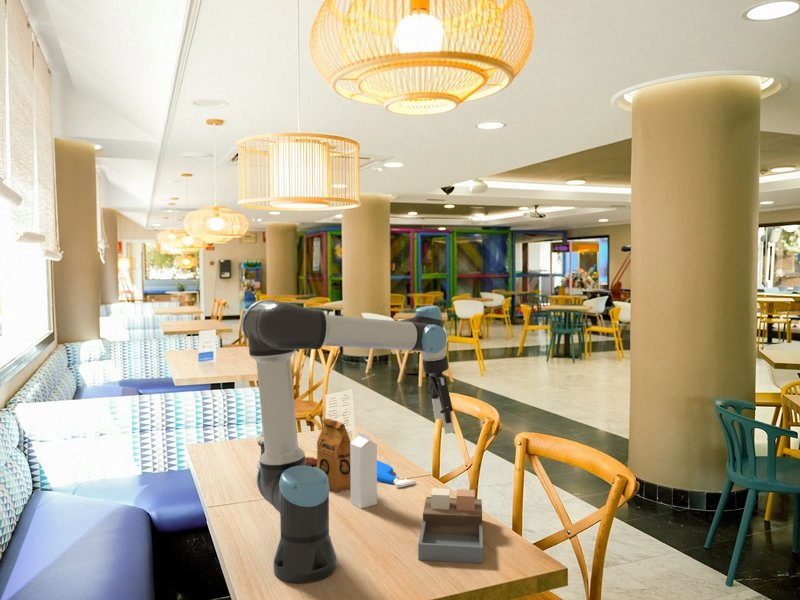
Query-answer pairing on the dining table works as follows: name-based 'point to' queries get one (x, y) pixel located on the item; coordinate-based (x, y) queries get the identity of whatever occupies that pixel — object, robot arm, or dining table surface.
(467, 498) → the salmon orange block
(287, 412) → the robot arm
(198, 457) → the dining table surface
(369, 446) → the milk
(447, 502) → the cream block
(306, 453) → the bread slice
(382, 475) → the spray bottle
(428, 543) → the box
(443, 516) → the block
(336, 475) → the coffee package
